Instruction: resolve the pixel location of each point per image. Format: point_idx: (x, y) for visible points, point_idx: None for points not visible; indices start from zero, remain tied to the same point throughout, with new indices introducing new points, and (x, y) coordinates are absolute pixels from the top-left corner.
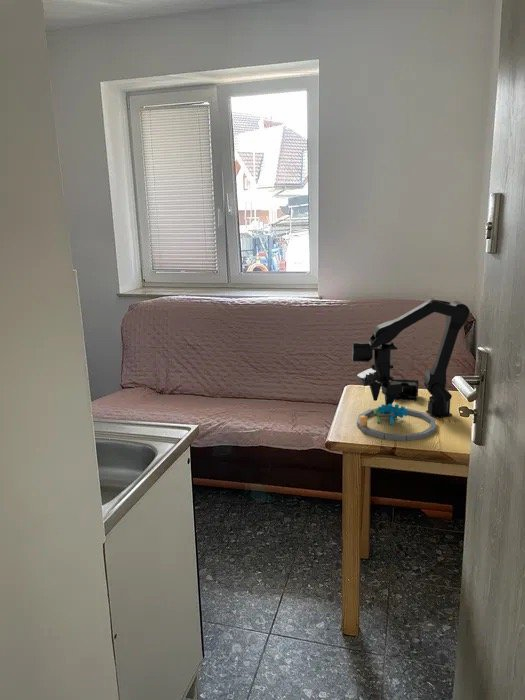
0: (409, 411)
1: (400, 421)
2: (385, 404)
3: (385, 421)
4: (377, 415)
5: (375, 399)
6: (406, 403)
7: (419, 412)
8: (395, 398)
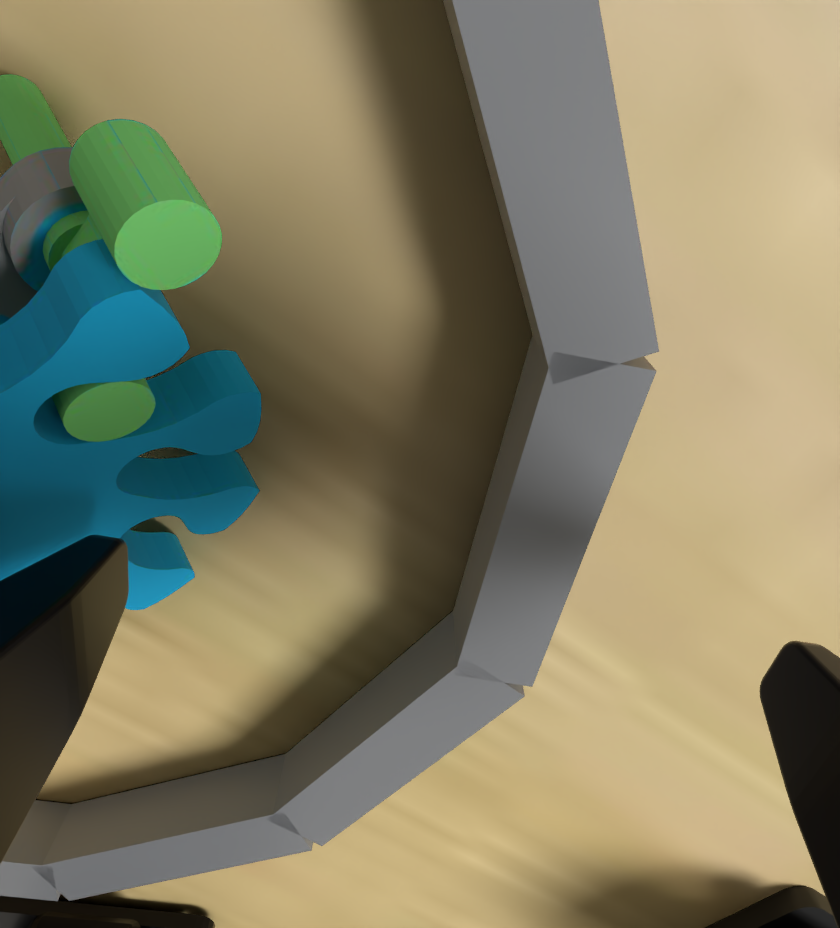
0: (213, 814)
1: None
2: (43, 610)
3: None
4: (37, 162)
5: (789, 688)
6: (574, 914)
7: (81, 871)
8: (768, 919)
